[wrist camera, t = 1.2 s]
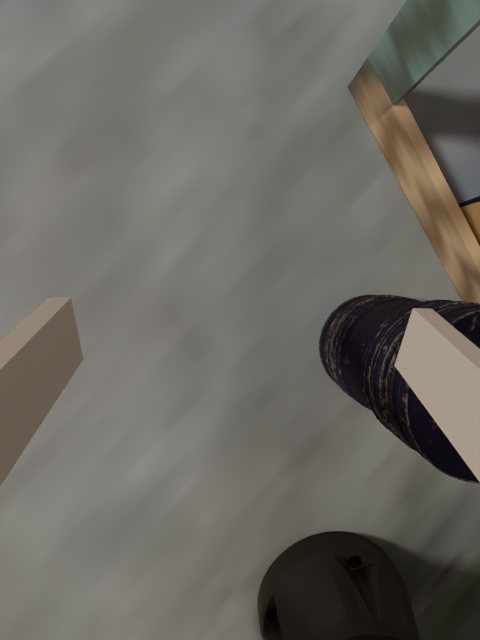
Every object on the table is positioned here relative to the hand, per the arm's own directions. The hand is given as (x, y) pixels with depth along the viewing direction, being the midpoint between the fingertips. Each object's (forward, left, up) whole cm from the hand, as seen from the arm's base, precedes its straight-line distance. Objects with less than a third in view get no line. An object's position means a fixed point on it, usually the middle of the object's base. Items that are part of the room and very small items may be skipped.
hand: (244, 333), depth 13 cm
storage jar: (-11, -9, -18) cm, 23 cm away
